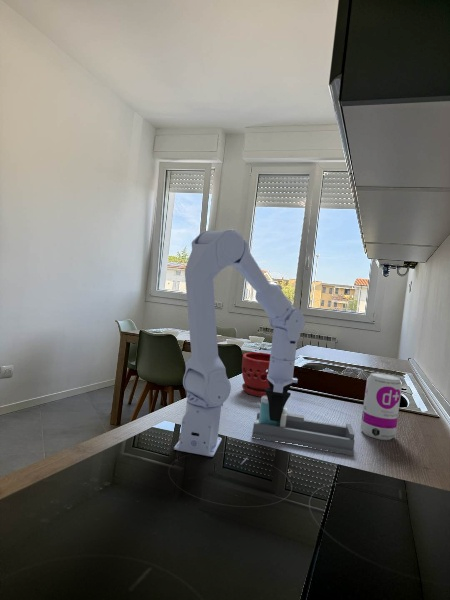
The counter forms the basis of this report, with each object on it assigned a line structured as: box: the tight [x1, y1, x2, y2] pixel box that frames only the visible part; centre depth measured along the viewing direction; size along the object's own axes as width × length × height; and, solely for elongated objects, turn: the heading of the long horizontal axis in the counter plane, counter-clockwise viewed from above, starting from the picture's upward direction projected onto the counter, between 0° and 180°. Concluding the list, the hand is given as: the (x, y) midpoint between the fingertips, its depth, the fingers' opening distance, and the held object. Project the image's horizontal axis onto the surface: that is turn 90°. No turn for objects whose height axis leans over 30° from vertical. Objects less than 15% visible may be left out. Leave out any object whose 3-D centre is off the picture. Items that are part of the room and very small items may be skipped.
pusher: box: [280, 407, 305, 427], centre depth 98 cm, size 6×5×4 cm
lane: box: [251, 411, 355, 457], centre depth 97 cm, size 11×22×4 cm, turn 80°
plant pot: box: [241, 351, 271, 397], centre depth 133 cm, size 13×13×12 cm
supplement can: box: [360, 372, 403, 441], centre depth 106 cm, size 8×8×15 cm
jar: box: [259, 396, 281, 426], centre depth 98 cm, size 5×5×7 cm
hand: (275, 415), depth 98 cm, fingers open, 7 cm apart
